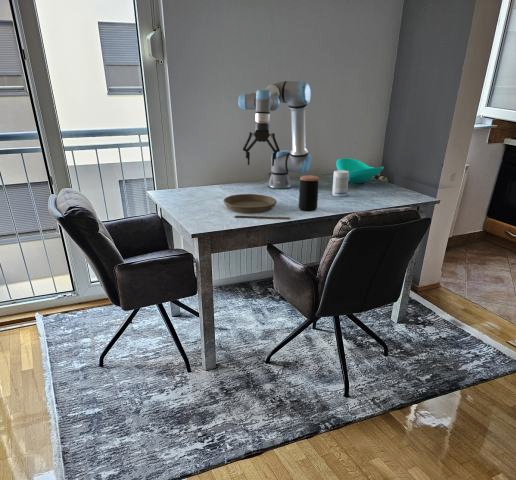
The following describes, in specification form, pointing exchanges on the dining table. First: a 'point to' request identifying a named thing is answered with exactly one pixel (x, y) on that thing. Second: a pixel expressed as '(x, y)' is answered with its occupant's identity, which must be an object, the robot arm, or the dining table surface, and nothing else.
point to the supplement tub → (340, 183)
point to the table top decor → (357, 170)
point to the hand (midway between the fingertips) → (260, 165)
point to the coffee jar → (308, 193)
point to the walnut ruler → (261, 217)
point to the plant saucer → (249, 203)
